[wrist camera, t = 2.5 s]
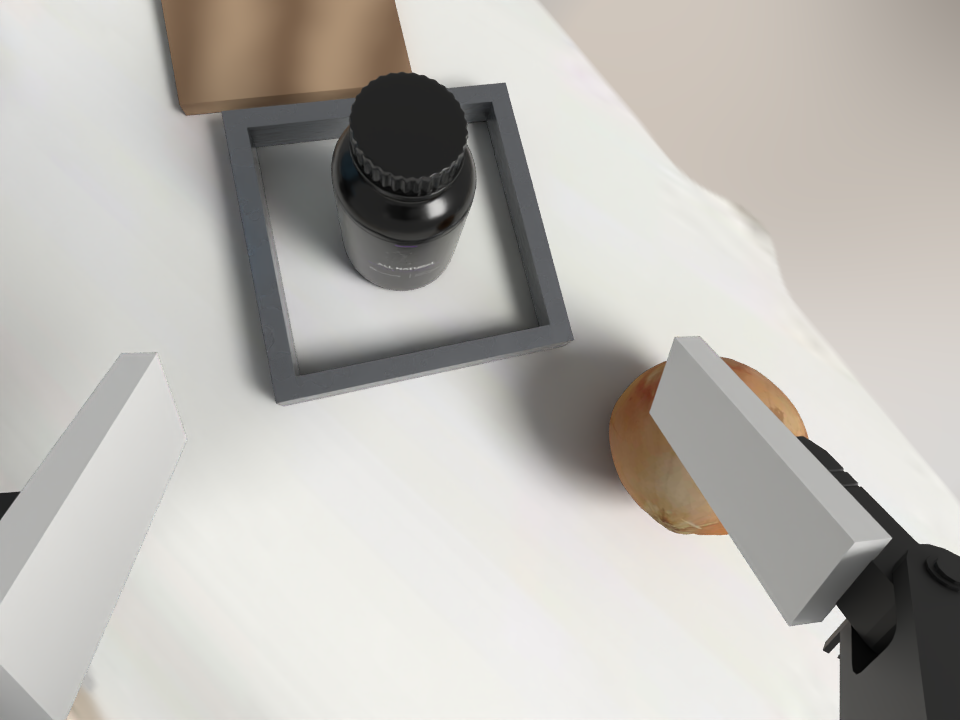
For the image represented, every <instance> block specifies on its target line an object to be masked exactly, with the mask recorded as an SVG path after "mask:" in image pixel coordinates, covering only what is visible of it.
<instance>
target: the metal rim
mask: <svg viewBox="0 0 960 720" xmlns="http://www.w3.org/2000/svg"><path fill="white" fill-rule="evenodd" d="M447 90H448V91H449V92H451V93H452V94H453V95H454V97H455V99H456V100H457V101H458V102H459V103H460V106H461V109H462V110H463V111H464V112H465V119H466V121H467V123H473V122H482V121H486V122H487V125H488V129H489V133H490V137H491V141H492V145H493V149H494V153H495V156H496V160H497V164H498V168H499V172H500V176H501V180H502V184H503V187H504V191H505V195H506V199H507V203H508V207H509V211H510V215H511V218H512V222H513V226H514V230H515V234H516V238H517V242H518V246H519V249H520V253H521V257H522V261H523V265H524V269H525V273H526V277H527V280H528V284H529V288H530V292H531V296H532V300H533V304H534V308H535V311H536V315H537V319H538V323H539V327H536V328H531V329H526V330H521V331H516V332H511V333H506V334H501V335H497V336H492V337H487V338H482V339H477V340H472V341H467V342H462V343H457V344H453V345H448V346H443V347H438V348H433V349H428V350H423V351H418V352H414V353H409V354H404V355H399V356H394V357H389V358H384V359H379V360H374V361H370V362H365V363H360V364H355V365H350V366H345V367H340V368H335V369H331V370H326V371H321V372H316V373H311V374H306V375H301V376H300V371H299V366H298V361H297V356H296V350H295V345H294V340H293V335H292V330H291V325H290V320H289V314H288V309H287V304H286V299H285V294H284V289H283V284H282V279H281V273H280V268H279V263H278V258H277V253H276V248H275V243H274V237H273V232H272V227H271V222H270V217H269V212H268V207H267V201H266V196H265V191H264V186H263V181H262V176H261V171H260V166H259V160H258V155H257V150H256V147H265V146H274V145H282V144H291V143H300V142H308V141H317V140H326V139H334V138H340V136H341V134H342V133H343V132H344V130H345V129H346V128H347V127H348V125H349V116H350V114H351V106H352V104H353V103H354V102H355V98H347V99H337V100H327V101H317V102H307V103H297V104H287V105H277V106H267V107H257V108H247V109H237V110H227V111H222V117H223V122H224V127H225V133H226V138H227V143H228V149H229V154H230V159H231V165H232V170H233V175H234V181H235V186H236V191H237V197H238V202H239V207H240V213H241V218H242V223H243V229H244V234H245V239H246V245H247V250H248V255H249V261H250V266H251V271H252V277H253V282H254V287H255V293H256V298H257V303H258V309H259V314H260V319H261V325H262V330H263V335H264V341H265V346H266V351H267V357H268V362H269V367H270V373H271V378H272V384H273V389H274V394H275V400H276V403H277V404H279V405H282V406H288V405H292V404H297V403H301V402H306V401H311V400H315V399H320V398H325V397H329V396H334V395H339V394H343V393H348V392H353V391H357V390H362V389H367V388H371V387H376V386H380V385H385V384H390V383H394V382H399V381H404V380H408V379H413V378H418V377H422V376H427V375H432V374H436V373H441V372H445V371H450V370H455V369H459V368H464V367H469V366H473V365H478V364H483V363H487V362H492V361H497V360H501V359H506V358H511V357H515V356H520V355H524V354H529V353H534V352H538V351H543V350H548V349H552V348H557V347H562V346H564V345H566V344H568V343H569V342H571V341H573V340H574V338H573V335H572V331H571V327H570V323H569V320H568V316H567V312H566V308H565V305H564V301H563V297H562V293H561V290H560V286H559V282H558V278H557V274H556V271H555V267H554V263H553V259H552V256H551V252H550V248H549V244H548V241H547V237H546V233H545V229H544V226H543V222H542V218H541V214H540V211H539V207H538V203H537V199H536V196H535V192H534V188H533V184H532V180H531V177H530V173H529V169H528V165H527V162H526V158H525V154H524V150H523V147H522V143H521V139H520V135H519V132H518V128H517V124H516V120H515V117H514V113H513V109H512V105H511V102H510V98H509V94H508V90H507V86H506V83H497V84H487V85H477V86H467V87H457V88H447Z"/></svg>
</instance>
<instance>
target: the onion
mask: <svg viewBox="0 0 960 720" xmlns="http://www.w3.org/2000/svg"><path fill="white" fill-rule="evenodd" d="M720 358H721V359H722V360H723V361H724V362H725V363H726V364H727V365H728V366H729V367H730V368H731V369H732V370H733V371H734V372H735V374H736V375H737V376H738V377H739V378H740V379H741V380H742V381H743V382H744V383H745V384H746V385H747V386H748V387H749V388H750V389H751V390H752V391H753V392H754V393H755V394H756V396H757V397H758V398H759V399H760V400H761V401H762V402H763V403H764V404H765V405H766V406H767V407H768V408H769V409H770V410H771V411H772V412H773V413H774V414H775V415H776V417H777V418H778V419H779V420H780V421H781V422H782V423H783V424H784V425H785V426H786V427H787V428H788V429H789V430H790V431H791V432H792V433H793V434H794V435H795V436H804V437H806V438H807V439H808V435H807V432H806V429H805V426H804V424H803V421H802V419H801V417H800V415H799V413H798V411H797V410H796V408H795V407H794V405H793V404H792V403H791V401H790V400H789V399H788V398H787V396H786V395H785V394H784V393H783V392H782V391H781V390H780V389H779V388H778V387H777V386H776V385H774V384H773V383H772V382H771V381H770V380H769V379H767V378H766V377H765V376H763V375H762V374H761V373H759V372H758V371H757V370H755V369H753V368H751V367H749V366H747V365H744V364H742V363H739V362H737V361H735V360H733V359H729V358H723V357H720ZM666 362H667V361H665V362H663V363H660V364H658V365H656V366H654V367H652V368H650V369H649V370H647V371H645V372H644V373H643V374H641V375H640V376H639V377H637V378H636V379H635V380H634V381H633V382H632V383H631V384H630V385H629V386H628V388H627V389H626V390H625V391H624V392H623V394H622V395H621V396H620V398H619V399H618V401H617V402H616V404H615V406H614V408H613V411H612V414H611V418H610V423H609V442H610V448H611V453H612V457H613V461H614V465H615V468H616V470H617V473H618V476H619V478H620V480H621V483H622V484H623V486H624V487H625V489H626V490H627V491H628V493H629V494H630V495H631V497H632V498H633V499H634V500H635V502H636V503H637V504H638V505H639V506H640V507H641V508H642V509H643V510H644V511H645V512H647V513H648V514H649V515H650V516H651V517H652V518H653V519H654V520H656V521H657V522H658V523H660V524H661V525H663V526H664V527H665V528H667V529H668V530H670V531H672V532H675V533H679V534H697V535H727V534H728V532H727V531H726V529H725V528H724V526H723V525H722V523H721V522H720V520H719V519H718V517H717V516H716V514H715V513H714V511H713V509H712V508H711V506H710V505H709V503H708V502H707V500H706V499H705V497H704V496H703V494H702V493H701V491H700V490H699V488H698V487H697V485H696V484H695V482H694V480H693V479H692V477H691V476H690V474H689V473H688V471H687V470H686V468H685V467H684V465H683V464H682V462H681V461H680V459H679V458H678V456H677V454H676V453H675V451H674V450H673V448H672V447H671V445H670V444H669V442H668V441H667V439H666V438H665V436H664V435H663V433H662V432H661V430H660V429H659V427H658V425H657V424H656V422H655V421H654V419H653V418H652V416H651V415H650V413H649V412H650V409H651V406H652V403H653V400H654V397H655V394H656V391H657V388H658V385H659V382H660V379H661V376H662V374H663V371H664V368H665V365H666Z"/></svg>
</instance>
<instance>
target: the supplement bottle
mask: <svg viewBox="0 0 960 720" xmlns="http://www.w3.org/2000/svg"><path fill="white" fill-rule="evenodd" d="M467 138H468V131H467V121H466V119H465V112H464V111H463V110H462V109H461V106H460V103H459V102H458V101H457V100H456V99H455V97H454V95H453V94H452V93H451V92H449V91H448V90H447V89H446V87H445V86H443V85H440V84H439V83H438V82H437V81H436V80H434V79H429V78H428V77H426V76H425V75H418V74H416V73H405V72H399V73H389V74H387V75H382V76H379V77H378V78H377V79H376V80H372V81H370V82H369V84H368V85H367V86H365V87H363V88H362V90H361V93H359V94H358V95H357V96H356V98H355V102H354V103H353V104H352V106H351V114H350V116H349V125H348V127H347V128H346V129H345V130H344V132H343V133H342V134H341V136H340V138H339V140H338V141H337V144H336V146H335V149H334V152H333V156H332V165H331V173H332V183H333V189H334V194H335V200H336V205H337V211H338V216H339V222H340V227H341V233H342V238H343V242H344V247H345V250H346V253H347V255H348V258H349V260H350V262H351V263H352V265H353V266H354V268H355V269H356V270H357V271H358V272H359V273H360V274H361V275H362V276H363V277H364V278H365V279H367V280H368V281H370V282H371V283H373V284H375V285H377V286H380V287H382V288H385V289H389V290H396V291H408V290H414V289H418V288H421V287H424V286H426V285H428V284H429V283H431V282H433V281H434V280H435V279H437V278H438V277H439V276H440V275H441V274H442V273H443V272H444V270H445V269H446V267H447V266H448V264H449V262H450V260H451V258H452V256H453V253H454V251H455V248H456V245H457V243H458V240H459V237H460V235H461V232H462V229H463V227H464V224H465V221H466V218H467V216H468V213H469V210H470V208H471V205H472V202H473V198H474V194H475V189H476V168H475V163H474V160H473V157H472V154H471V152H470V149H469V147H468V145H467Z"/></svg>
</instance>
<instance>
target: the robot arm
mask: <svg viewBox="0 0 960 720" xmlns="http://www.w3.org/2000/svg"><path fill="white" fill-rule="evenodd" d="M649 413H650V415H651V416H652V418H653V419H654V421H655V422H656V424H657V425H658V427H659V429H660V430H661V432H662V433H663V435H664V436H665V438H666V439H667V441H668V442H669V444H670V445H671V447H672V448H673V450H674V451H675V453H676V454H677V456H678V458H679V459H680V461H681V462H682V464H683V465H684V467H685V468H686V470H687V471H688V473H689V474H690V476H691V477H692V479H693V480H694V482H695V484H696V485H697V487H698V488H699V490H700V491H701V493H702V494H703V496H704V497H705V499H706V500H707V502H708V503H709V505H710V506H711V508H712V509H713V511H714V513H715V514H716V516H717V517H718V519H719V520H720V522H721V523H722V525H723V526H724V528H725V529H726V531H727V532H728V534H729V535H730V537H731V538H732V540H733V542H734V543H735V545H736V546H737V548H738V549H739V551H740V552H741V554H742V555H743V557H744V558H745V560H746V561H747V563H748V564H749V566H750V568H751V569H752V571H753V572H754V574H755V575H756V577H757V578H758V580H759V581H760V583H761V584H762V586H763V587H764V589H765V590H766V592H767V593H768V595H769V597H770V598H771V600H772V601H773V603H774V604H775V606H776V607H777V609H778V610H779V612H780V613H781V615H782V616H783V618H784V619H785V621H786V623H787V624H788V626H795V625H802V624H809V623H816V622H822V621H823V620H824V618H825V617H826V616H827V615H828V614H829V613H830V611H831V610H832V609H833V608H834V607H835V605H837V606H838V608H839V609H840V610H841V612H842V613H843V614H844V616H845V617H846V619H845V621H844V622H843V623H842V624H841V625H840V626H839V627H838V628H837V630H836V631H835V632H834V633H833V634H832V635H831V636H830V637H829V639H828V640H827V641H826V642H825V645H824V648H823V651H825V652H827V653H830V652H831V650H832V649H833V648H834V647H835V646H836V645H837V644H838V643H839V642H840V655H839V656H838V658H839V659H840V720H960V556H958V555H956V554H954V553H952V552H950V551H948V550H946V549H944V548H940V547H937V546H933V545H930V544H918V543H917V542H916V541H915V540H914V539H913V538H912V537H911V536H910V535H909V534H908V533H907V532H906V531H905V530H904V529H903V528H902V527H901V526H900V525H899V524H898V523H897V522H896V521H895V520H894V519H893V518H892V517H891V516H890V515H889V514H888V513H887V512H886V511H885V510H884V509H883V508H882V507H881V506H880V505H879V504H878V503H877V502H876V501H875V500H874V499H873V498H872V497H871V496H870V495H869V494H868V493H867V492H866V491H865V490H864V489H863V488H862V487H859V486H858V483H857V482H856V481H855V480H854V479H853V478H852V476H851V475H850V474H849V473H848V472H844V471H843V469H844V468H843V467H842V466H841V465H840V464H839V463H838V462H837V461H836V460H835V459H834V458H833V457H832V456H831V455H830V454H829V453H828V452H827V451H826V450H824V449H822V448H821V447H819V446H818V445H816V444H815V443H813V442H812V441H810V440H809V439H807V438H806V437H804V436H795V435H794V434H793V433H792V432H791V431H790V430H789V429H788V428H787V427H786V426H785V425H784V424H783V423H782V422H781V421H780V420H779V419H778V418H777V417H776V415H775V414H774V413H773V412H772V411H771V410H770V409H769V408H768V407H767V406H766V405H765V404H764V403H763V402H762V401H761V400H760V399H759V398H758V397H757V396H756V394H755V393H754V392H753V391H752V390H751V389H750V388H749V387H748V386H747V385H746V384H745V383H744V382H743V381H742V380H741V379H740V378H739V377H738V376H737V375H736V374H735V372H734V371H733V370H732V369H731V368H730V367H729V366H728V365H727V364H726V363H725V362H724V361H723V360H722V359H721V358H720V357H719V356H718V355H717V354H716V353H715V352H714V350H713V349H712V348H711V347H710V346H709V345H708V344H707V343H706V342H705V341H704V340H703V339H702V338H701V337H700V336H692V337H675V338H674V341H673V344H672V347H671V350H670V353H669V356H668V359H667V362H666V365H665V368H664V371H663V374H662V376H661V379H660V382H659V385H658V388H657V391H656V394H655V397H654V400H653V403H652V406H651V409H650V412H649ZM186 442H187V436H186V433H185V430H184V427H183V425H182V422H181V419H180V416H179V413H178V410H177V407H176V404H175V402H174V399H173V396H172V393H171V390H170V387H169V384H168V381H167V379H166V376H165V373H164V370H163V367H162V364H161V361H160V358H159V355H158V353H157V352H155V353H121V354H120V356H119V357H118V359H117V360H116V361H115V363H114V364H113V365H112V367H111V368H110V370H109V371H108V372H107V374H106V375H105V376H104V378H103V379H102V381H101V382H100V383H99V385H98V386H97V388H96V389H95V390H94V392H93V393H92V394H91V396H90V397H89V399H88V400H87V401H86V403H85V404H84V405H83V407H82V408H81V410H80V411H79V412H78V414H77V415H76V416H75V418H74V419H73V421H72V422H71V423H70V425H69V426H68V428H67V429H66V430H65V432H64V433H63V434H62V436H61V437H60V439H59V440H58V441H57V443H56V444H55V445H54V447H53V448H52V450H51V451H50V452H49V454H48V455H47V456H46V458H45V459H44V461H43V462H42V463H41V465H40V466H39V468H38V469H37V470H36V472H35V473H34V474H33V476H32V477H31V479H30V480H29V481H28V483H27V484H26V485H25V487H24V488H23V490H22V491H21V492H9V493H0V720H66V719H67V716H68V714H69V712H70V710H71V707H72V705H73V703H74V700H75V698H76V696H77V693H78V691H79V689H80V686H81V684H82V682H83V679H84V677H85V675H86V673H87V670H88V668H89V666H90V663H91V661H92V659H93V656H94V654H95V652H96V649H97V647H98V645H99V643H100V640H101V638H102V636H103V633H104V631H105V629H106V626H107V624H108V622H109V619H110V617H111V615H112V613H113V610H114V608H115V606H116V603H117V601H118V599H119V596H120V594H121V592H122V589H123V587H124V585H125V582H126V580H127V578H128V576H129V573H130V571H131V569H132V566H133V564H134V562H135V559H136V557H137V555H138V552H139V550H140V548H141V546H142V543H143V541H144V539H145V536H146V534H147V532H148V529H149V527H150V525H151V522H152V520H153V518H154V516H155V513H156V511H157V509H158V506H159V504H160V502H161V499H162V497H163V495H164V492H165V490H166V488H167V485H168V483H169V481H170V479H171V476H172V474H173V472H174V469H175V467H176V465H177V462H178V460H179V458H180V455H181V453H182V451H183V449H184V446H185V444H186Z"/></svg>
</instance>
